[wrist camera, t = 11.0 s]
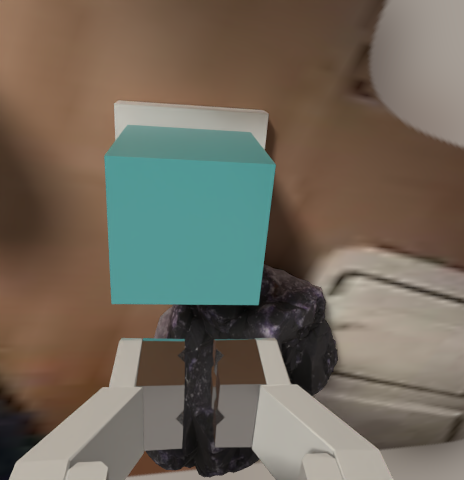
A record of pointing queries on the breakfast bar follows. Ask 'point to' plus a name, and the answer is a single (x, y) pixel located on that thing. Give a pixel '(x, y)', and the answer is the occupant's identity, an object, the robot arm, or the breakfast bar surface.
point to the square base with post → (190, 118)
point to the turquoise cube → (187, 216)
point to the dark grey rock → (244, 327)
